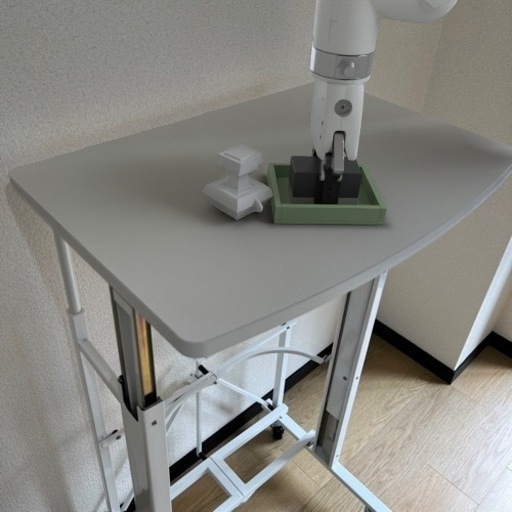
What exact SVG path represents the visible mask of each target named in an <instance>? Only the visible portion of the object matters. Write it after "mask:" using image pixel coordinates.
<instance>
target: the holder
mask: <svg viewBox="0 0 512 512" xmlns="http://www.w3.org/2000/svg"><path fill="white" fill-rule="evenodd" d="M358 165H359V167H360V170H361V172H362V179H361V184H360V190H359V195H358V201H357V205H322V204H292V203H291V199H290V194H289V189H288V182H289V172H290V162H268V163H267V170H266V171H267V174H266V180H267V186H268V187H270V188H271V190H272V192H273V196H272V197H271V198H270V200H269V201H270V205H271V212H272V213H271V214H272V217H273V218H272V219H273V224H275V225H277V224H278V225H356V226H357V225H359V226H360V225H361V226H363V225H364V226H366V225H367V226H368V225H369V226H383V225H384V224H385V218H386V213H387V206H386V204H385V201H384V199H383V197H382V195H381V194H380V191H379V189H378V187H377V185H376V182H375V181H374V178H373V177H372V175H371V173H370V171H369V170H370V169H368V166H367V165H366V164H365V163H361V164H359V163H358Z"/></svg>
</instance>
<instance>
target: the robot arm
mask: <svg viewBox="0 0 512 512" xmlns="http://www.w3.org/2000/svg"><path fill="white" fill-rule="evenodd" d="M457 2H458V0H315V8H314V9H315V10H314V17H313V28H312V37H311V38H312V39H311V45H310V53H309V54H310V55H309V63H308V75H310V77H313V78H314V85H313V94H312V100H311V109H310V118H309V134H310V138H311V141H312V148H311V156H318V157H319V158H320V159H321V164H320V177H317V181H316V189H315V196H314V204H322V205H337V204H338V199H339V193H340V186H341V181H342V174H343V172H344V157H347V159H348V160H350V161H354V160H355V159H356V160H357V157H358V151H359V142H360V136H361V126H362V119H363V110H364V98H365V97H364V95H365V83H366V82H368V81H369V80H370V79H371V74H372V69H373V64H374V63H373V62H374V57H375V50H376V45H377V39H378V33H379V27H380V23H381V20H384V19H385V20H393V21H400V22H406V23H411V24H426V23H431V22H434V21H437V20H439V19H441V18H443V17H444V16H445V15H447V14H448V13H449V12H450V11H451V10H452V9H453V8H454V6H456V4H457ZM326 162H332V165H331V167H328V168H327V169H326Z"/></svg>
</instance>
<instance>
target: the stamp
mask: <svg viewBox="0 0 512 512" xmlns="http://www.w3.org/2000/svg"><path fill="white" fill-rule="evenodd" d="M216 164H218V166H219V168H220V169H221V170H222V171H223V170H224V171H226V172H227V173H228V175H226V176H224V177H221V178H219V179H216V180H214V181H212V182H209V183H207V184H206V185H205V186H204V187H203V191H202V193H203V194H204V196H205V198H207V199H208V201H209V202H211V204H212V205H213V207H215V208H216V209H217V210H219V211H221V212H223V213H224V214H226V215H228V216H229V217H231V218H233V219H234V220H235V221H238V220H240V219H242V218H244V217H246V216H248V215H251V214H252V213H254V212H256V213H262V212H263V210H264V205H265V204H266V203H267V202H269V201H271V200H270V198H271V197H272V196H273V192H272V190H271V188H270V187H268V185H267V184H264V183H263V182H261V181H258V180H256V179H255V178H253V177H251V176H249V175H250V173H253V172H256V171H258V169H259V168H260V165H261V164H263V152H260V151H258V150H255V149H253V148H252V147H249V146H247V145H244V144H242V143H239V144H237V145H235V146H232V147H230V148H228V149H225V150H223V151H221V152H219V153H217V159H216Z"/></svg>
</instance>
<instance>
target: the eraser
mask: <svg viewBox="0 0 512 512" xmlns="http://www.w3.org/2000/svg"><path fill="white" fill-rule="evenodd" d="M289 163H290V172H289V182H288V189H289V194H290V199H291V203H292V204H314V196H315V189H316V181H317V177H320V164H321V159H320V158H319V157H318V156H312V155H291V156H290V162H289ZM358 164H359V163H358V160H357V158H356V159H355V160H354V161H350V160H348V159H347V156H344V172H343V174H342V181H341V186H340V193H339V199H338V204H337V205H357V201H358V195H359V190H360V184H361V179H362V172H361V170H360V167H359V165H358ZM331 165H332V162H326V169H327V168H328V167H331Z"/></svg>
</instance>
